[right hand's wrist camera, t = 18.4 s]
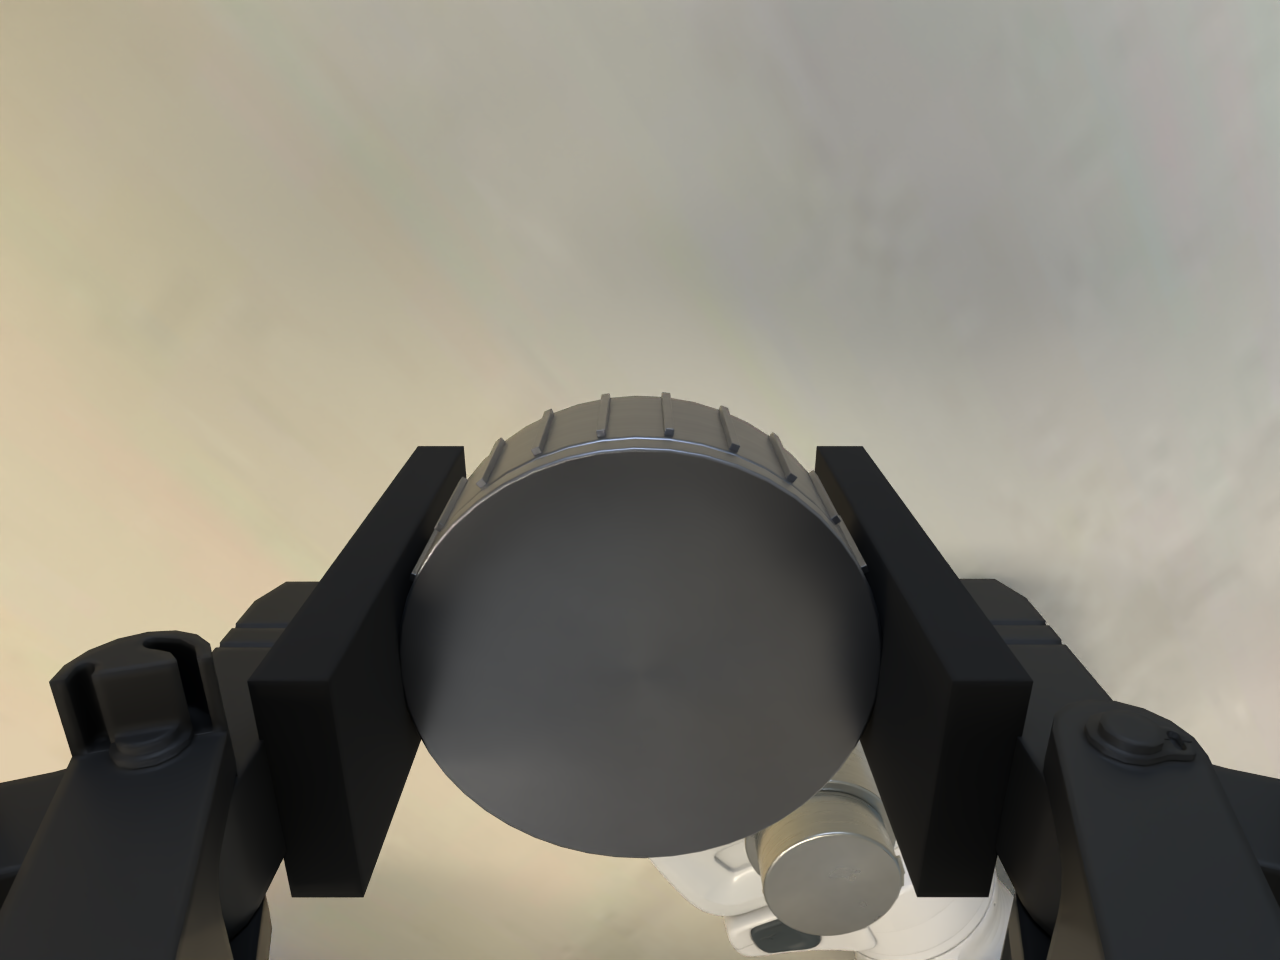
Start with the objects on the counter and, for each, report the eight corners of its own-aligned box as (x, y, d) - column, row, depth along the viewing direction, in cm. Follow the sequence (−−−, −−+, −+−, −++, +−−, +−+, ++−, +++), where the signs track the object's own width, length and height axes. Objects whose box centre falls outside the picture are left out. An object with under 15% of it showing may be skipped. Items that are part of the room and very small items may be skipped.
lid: (909, 448, 11) (965, 511, 9) (777, 789, 14) (800, 898, 12) (470, 342, 11) (432, 386, 9) (405, 715, 13) (364, 816, 11)
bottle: (722, 637, 45) (776, 960, 27) (693, 558, 43) (732, 849, 26) (813, 611, 44) (928, 923, 27) (788, 529, 43) (894, 807, 25)
